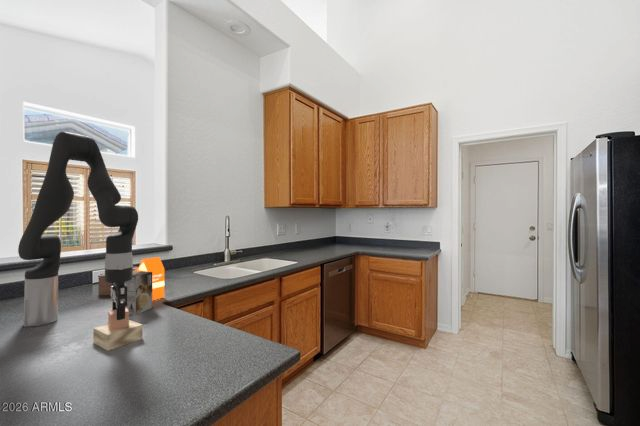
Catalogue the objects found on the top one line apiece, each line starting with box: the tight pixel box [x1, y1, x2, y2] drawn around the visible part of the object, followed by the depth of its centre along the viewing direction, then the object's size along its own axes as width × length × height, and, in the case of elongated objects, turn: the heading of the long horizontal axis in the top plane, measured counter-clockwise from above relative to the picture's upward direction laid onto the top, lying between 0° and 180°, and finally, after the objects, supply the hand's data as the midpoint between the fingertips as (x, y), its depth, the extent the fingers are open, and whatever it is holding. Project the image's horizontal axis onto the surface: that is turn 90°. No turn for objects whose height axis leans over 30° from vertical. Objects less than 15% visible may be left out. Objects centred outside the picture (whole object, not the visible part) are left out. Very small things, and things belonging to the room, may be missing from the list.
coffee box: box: [125, 271, 154, 315], centre depth 124 cm, size 9×6×16 cm
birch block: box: [93, 319, 144, 351], centre depth 95 cm, size 10×10×5 cm
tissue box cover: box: [98, 266, 139, 296], centre depth 160 cm, size 26×14×10 cm, turn 2°
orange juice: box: [137, 256, 166, 301], centre depth 140 cm, size 8×9×20 cm
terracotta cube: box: [107, 308, 130, 331], centre depth 95 cm, size 5×5×5 cm
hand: (118, 315), depth 95 cm, fingers open, 8 cm apart
